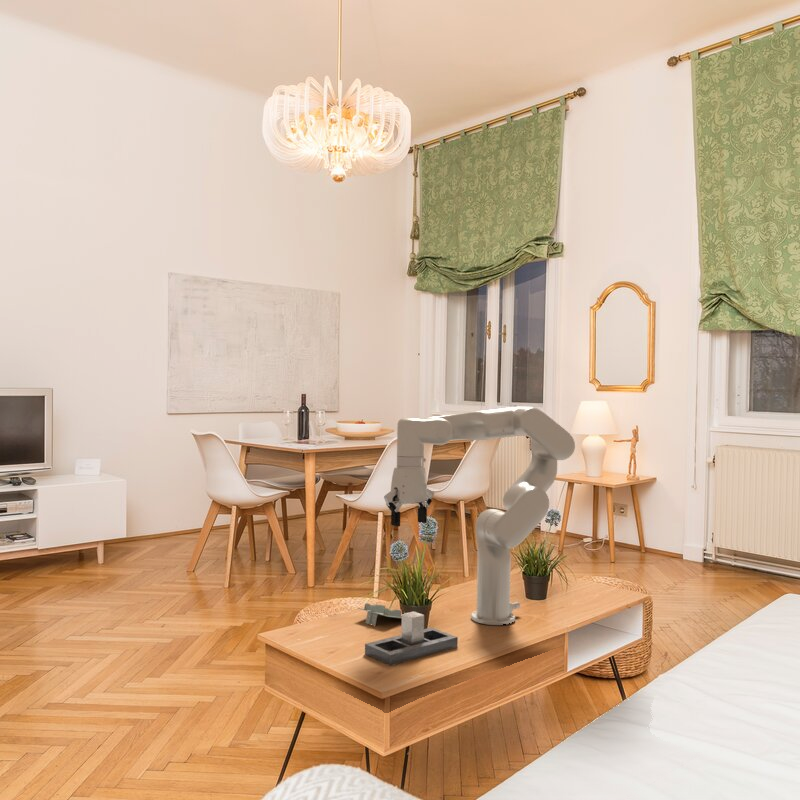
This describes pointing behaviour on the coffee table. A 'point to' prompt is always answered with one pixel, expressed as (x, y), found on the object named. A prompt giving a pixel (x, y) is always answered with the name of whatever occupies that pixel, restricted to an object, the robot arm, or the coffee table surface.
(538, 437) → the robot arm
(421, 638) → the steel peg
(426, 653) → the compartment tray
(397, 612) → the metal bracket
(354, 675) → the coffee table surface
